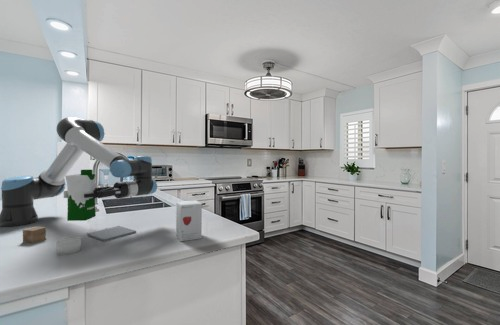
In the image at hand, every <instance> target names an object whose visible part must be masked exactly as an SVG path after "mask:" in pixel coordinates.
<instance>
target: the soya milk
mask: <svg viewBox="0 0 500 325" xmlns="http://www.w3.org/2000/svg"><path fill="white" fill-rule="evenodd" d="M93 172H94V171H93V169H80V173H78V174H70V175H69V174H67V175H66V176H65V177H64V178H65V182H66V186H67V190H66V191H67V195H68V198H67V214H66V215H67V222H69V221H70V222H71V221H73V222H75V221H77V222H78V221H80V222H81V221H89V220H90V219H92V218H96V198H94V197H93V198H90V199H82V200H74V195H73V193H80V192H90V191H93V193H94V190H95V188H96V178H97V174H96V173H93Z"/></svg>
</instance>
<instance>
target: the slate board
mask: <svg viewBox="0 0 500 325" xmlns="http://www.w3.org/2000/svg"><path fill="white" fill-rule="evenodd" d="M136 233H137V230H135V229H131V228H128V227H125V226H120V225H116V226H112V227H108V228H104V229H100V230H94V231H91V232H87V234H86V235H87V236H88V237H91V238H94V239H96V240H99V241H101V242H107V241H111V240H114V239H118V238H121V237H125V236H128V235H133V234H136Z"/></svg>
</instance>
